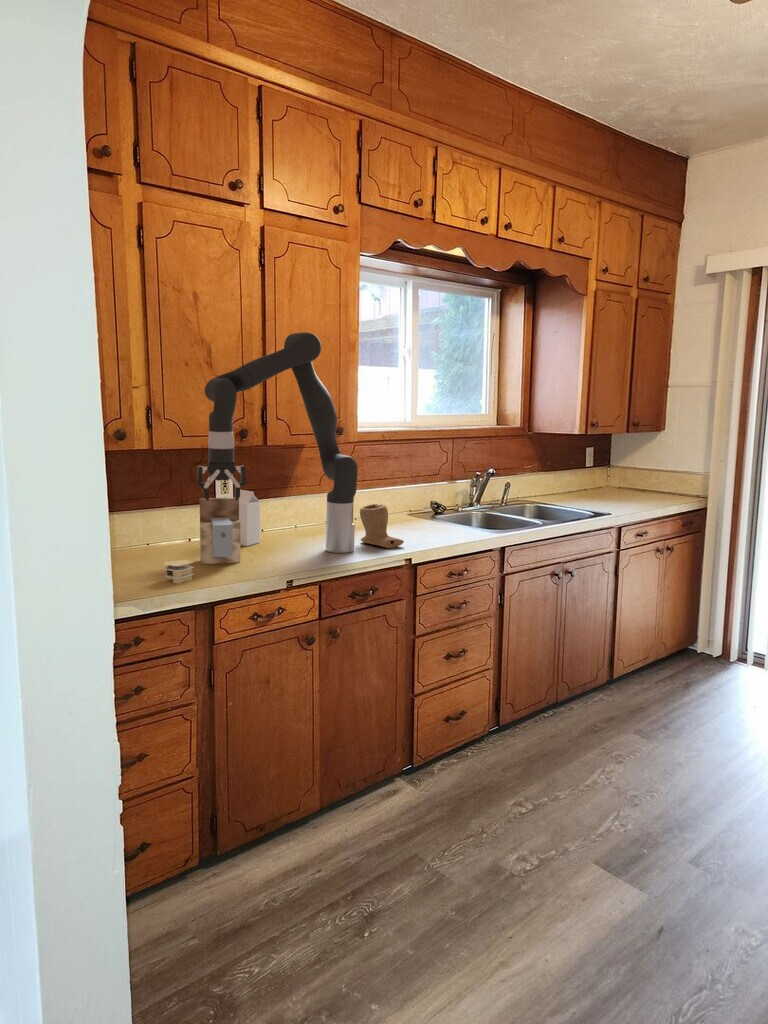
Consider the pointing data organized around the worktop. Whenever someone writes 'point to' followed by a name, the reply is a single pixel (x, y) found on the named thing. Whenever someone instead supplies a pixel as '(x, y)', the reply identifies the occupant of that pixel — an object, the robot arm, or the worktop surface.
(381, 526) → the tan boot vase
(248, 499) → the milk carton
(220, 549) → the blue-grey block
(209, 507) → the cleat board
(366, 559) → the worktop surface
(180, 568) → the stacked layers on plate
